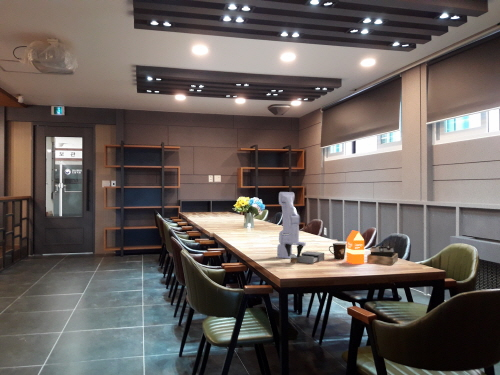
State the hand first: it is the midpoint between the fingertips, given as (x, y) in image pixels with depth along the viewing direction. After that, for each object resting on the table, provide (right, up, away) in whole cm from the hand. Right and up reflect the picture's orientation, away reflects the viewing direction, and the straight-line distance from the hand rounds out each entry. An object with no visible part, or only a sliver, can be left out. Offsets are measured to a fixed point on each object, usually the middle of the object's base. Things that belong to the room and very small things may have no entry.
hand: (293, 256), depth 235 cm
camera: (+57, -5, +9) cm, 58 cm away
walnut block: (0, -4, 0) cm, 4 cm away
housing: (+14, -4, +12) cm, 18 cm away
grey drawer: (+10, -4, +5) cm, 11 cm away
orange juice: (+39, -5, +4) cm, 40 cm away
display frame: (+58, -5, +9) cm, 59 cm away
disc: (0, 0, 0) cm, 0 cm away
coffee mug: (+31, -5, +17) cm, 35 cm away
